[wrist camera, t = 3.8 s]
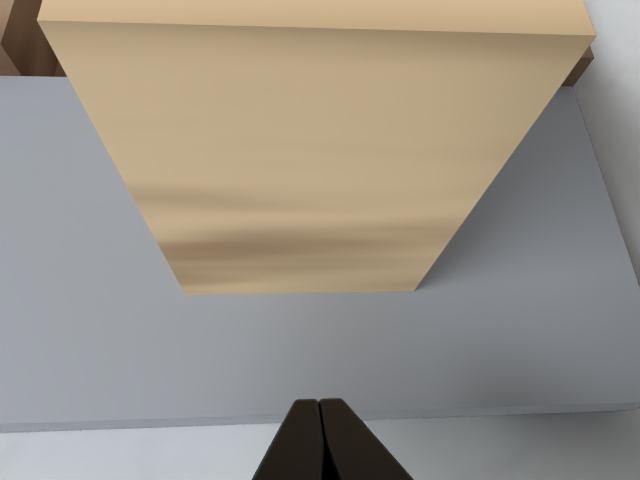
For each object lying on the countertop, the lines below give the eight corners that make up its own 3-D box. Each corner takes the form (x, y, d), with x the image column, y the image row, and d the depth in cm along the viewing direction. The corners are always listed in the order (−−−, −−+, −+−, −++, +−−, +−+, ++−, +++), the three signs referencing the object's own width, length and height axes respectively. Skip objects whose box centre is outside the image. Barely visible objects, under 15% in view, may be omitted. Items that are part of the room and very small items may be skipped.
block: (413, 291, 15) (596, 35, 6) (185, 295, 15) (36, 21, 6) (391, 113, 18) (494, -232, 9) (200, 111, 18) (116, -258, 9)
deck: (624, 410, 17) (677, 400, 15) (-60, 435, 15) (-120, 428, 13) (542, 126, 22) (572, 86, 20) (25, 120, 20) (-8, 75, 18)
